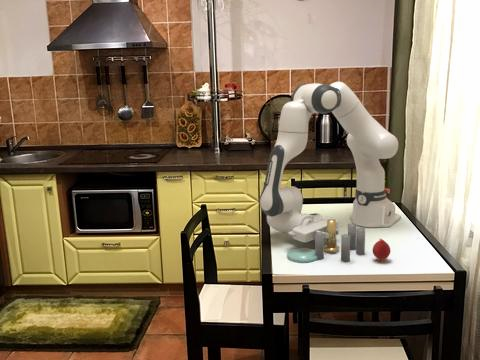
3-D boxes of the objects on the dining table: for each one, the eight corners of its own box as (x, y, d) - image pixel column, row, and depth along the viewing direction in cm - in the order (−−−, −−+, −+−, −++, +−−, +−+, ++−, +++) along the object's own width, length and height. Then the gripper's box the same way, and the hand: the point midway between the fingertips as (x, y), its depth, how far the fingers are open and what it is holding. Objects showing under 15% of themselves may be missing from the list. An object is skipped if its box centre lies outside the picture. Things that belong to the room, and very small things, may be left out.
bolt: (329, 247, 196) (330, 217, 194) (341, 250, 193) (341, 220, 190) (320, 251, 193) (321, 220, 190) (332, 254, 189) (333, 223, 186)
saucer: (300, 248, 196) (300, 245, 195) (325, 256, 188) (325, 253, 188) (280, 257, 188) (280, 254, 188) (304, 265, 181) (304, 262, 180)
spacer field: (343, 244, 199) (344, 221, 197) (369, 251, 191) (370, 227, 189) (313, 258, 187) (313, 233, 185) (339, 266, 179) (339, 240, 177)
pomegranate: (387, 257, 185) (387, 235, 184) (392, 263, 180) (393, 241, 178) (370, 257, 185) (370, 235, 183) (375, 264, 180) (375, 241, 178)
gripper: (284, 224, 193) (315, 233, 183) (319, 212, 206) (350, 219, 196) (284, 241, 194) (315, 250, 184) (319, 227, 208) (349, 235, 198)
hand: (333, 234), depth 190 cm, fingers closed on bolt, 3 cm apart
